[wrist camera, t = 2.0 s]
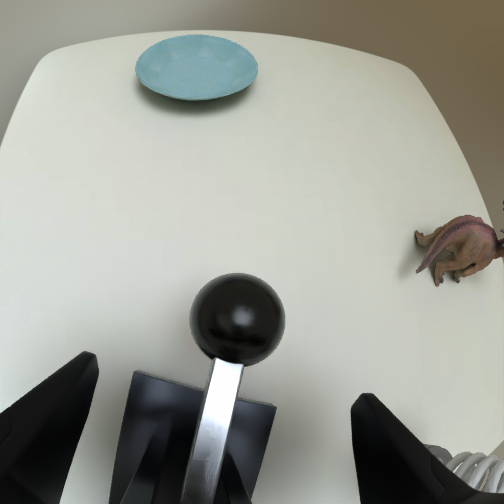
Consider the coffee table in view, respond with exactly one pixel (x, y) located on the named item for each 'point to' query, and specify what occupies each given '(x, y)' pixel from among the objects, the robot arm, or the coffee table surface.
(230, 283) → the lever
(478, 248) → the dinosaur figurine
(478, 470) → the light bulb
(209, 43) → the saucer
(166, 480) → the bracket
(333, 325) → the coffee table surface
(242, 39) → the coffee table surface
